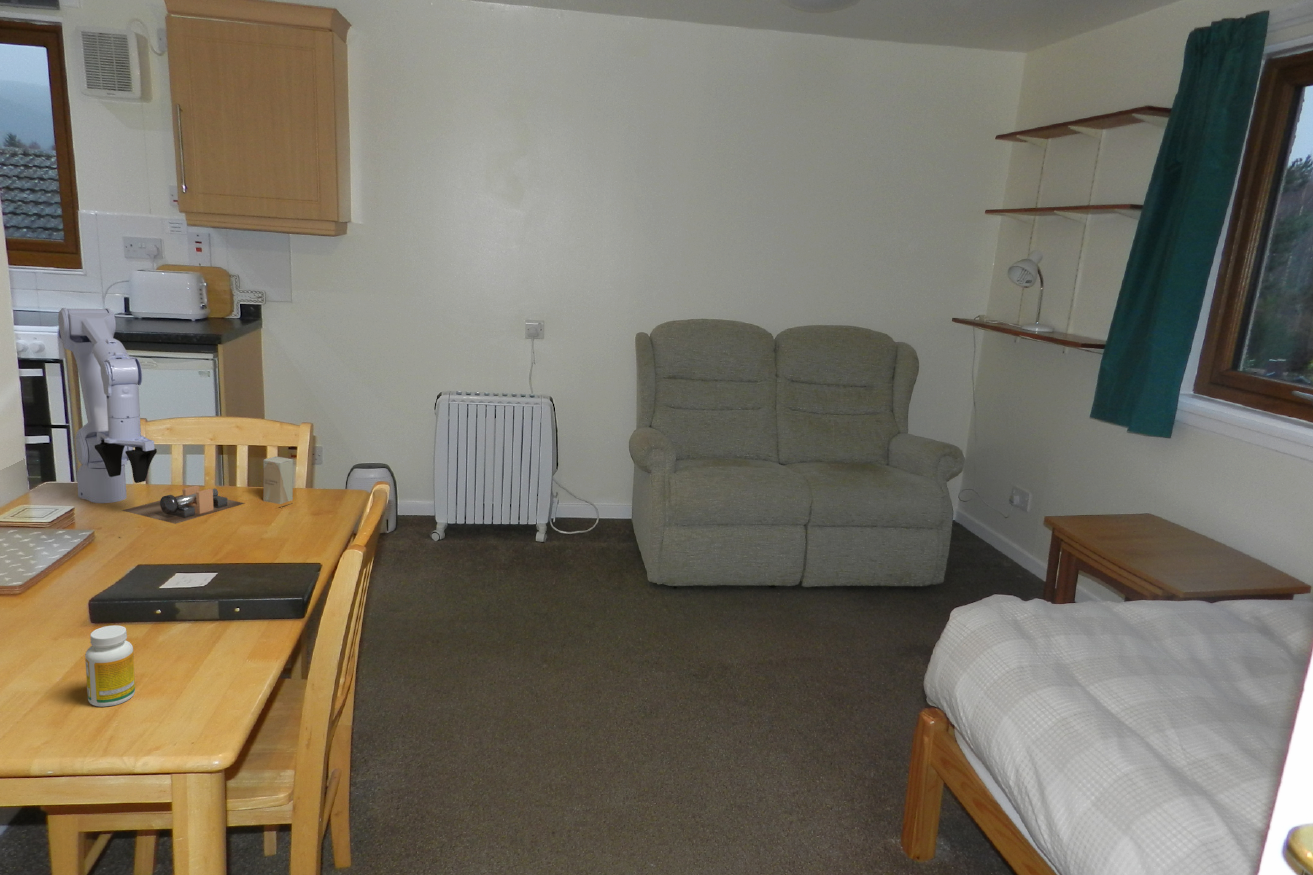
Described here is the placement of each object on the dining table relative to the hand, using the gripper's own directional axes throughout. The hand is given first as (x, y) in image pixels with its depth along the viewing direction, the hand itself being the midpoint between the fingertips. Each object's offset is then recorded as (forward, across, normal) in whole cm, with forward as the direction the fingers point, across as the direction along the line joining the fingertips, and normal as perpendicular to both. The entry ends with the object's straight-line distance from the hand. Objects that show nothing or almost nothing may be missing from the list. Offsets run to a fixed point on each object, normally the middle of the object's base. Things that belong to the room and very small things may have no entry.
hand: (127, 478), depth 177 cm
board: (+9, +3, +11) cm, 15 cm away
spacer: (+8, +7, +11) cm, 16 cm away
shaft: (+7, +7, +9) cm, 14 cm away
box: (+10, +15, +26) cm, 32 cm away
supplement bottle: (+10, +62, -49) cm, 80 cm away
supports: (+8, +7, +11) cm, 16 cm away
